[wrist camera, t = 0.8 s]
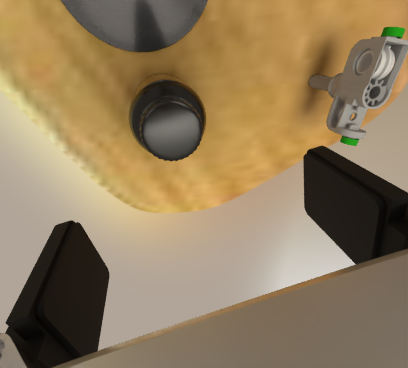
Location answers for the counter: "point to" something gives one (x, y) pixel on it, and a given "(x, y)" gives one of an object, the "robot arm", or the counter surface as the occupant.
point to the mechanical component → (363, 82)
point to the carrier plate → (137, 21)
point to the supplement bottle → (167, 117)
